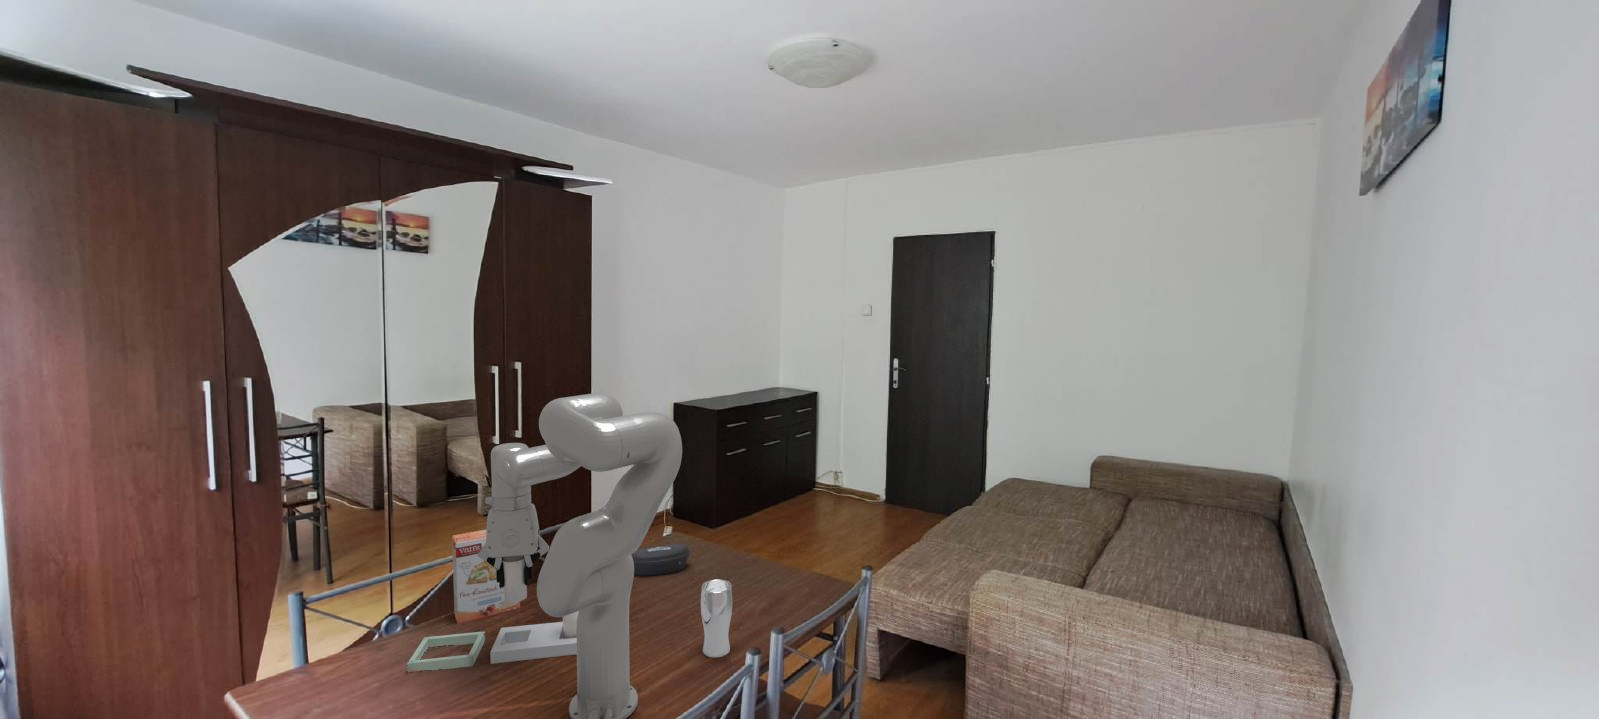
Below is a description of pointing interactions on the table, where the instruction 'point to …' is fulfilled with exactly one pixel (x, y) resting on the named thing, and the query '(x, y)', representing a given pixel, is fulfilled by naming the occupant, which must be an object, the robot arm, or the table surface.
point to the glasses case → (660, 560)
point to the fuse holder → (532, 643)
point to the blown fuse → (514, 579)
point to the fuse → (570, 625)
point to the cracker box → (475, 580)
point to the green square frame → (447, 662)
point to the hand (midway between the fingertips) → (515, 582)
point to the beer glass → (716, 617)
